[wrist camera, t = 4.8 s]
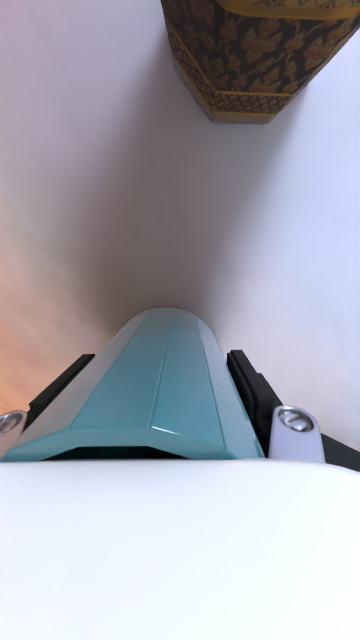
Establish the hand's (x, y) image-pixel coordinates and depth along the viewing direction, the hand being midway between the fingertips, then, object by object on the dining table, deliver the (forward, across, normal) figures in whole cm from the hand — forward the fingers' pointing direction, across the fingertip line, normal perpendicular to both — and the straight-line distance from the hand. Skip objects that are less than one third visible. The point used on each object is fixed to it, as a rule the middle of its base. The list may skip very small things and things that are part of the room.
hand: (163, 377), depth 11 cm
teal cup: (+2, 0, 0) cm, 2 cm away
